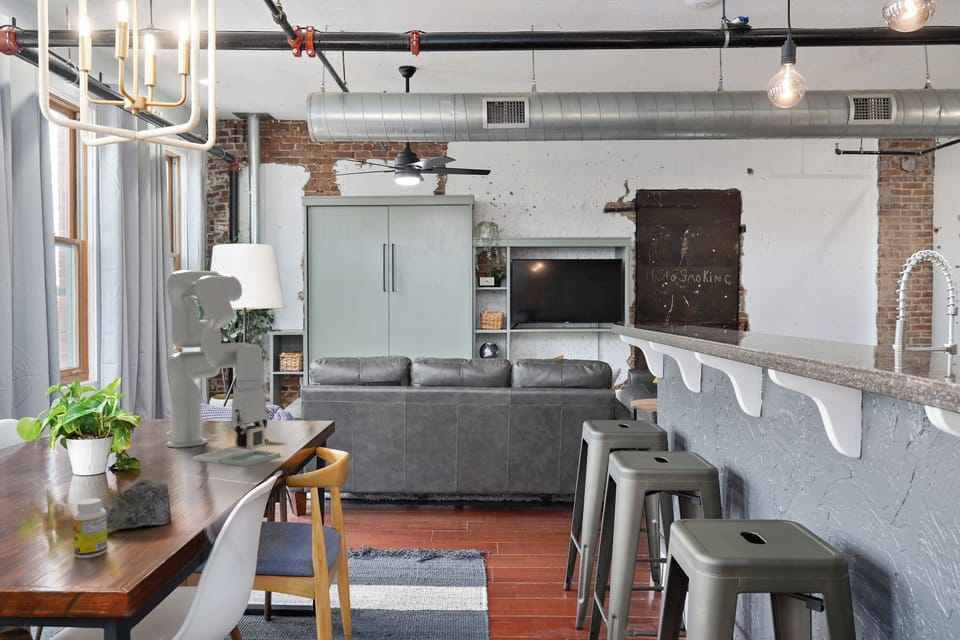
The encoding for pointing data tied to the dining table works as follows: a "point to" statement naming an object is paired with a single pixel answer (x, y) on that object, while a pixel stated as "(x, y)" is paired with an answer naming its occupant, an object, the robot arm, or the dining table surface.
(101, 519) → the supplement bottle
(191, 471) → the dining table surface
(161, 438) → the dining table surface
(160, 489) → the mineral rock
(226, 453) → the tray white
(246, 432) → the light wooden cube
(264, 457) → the tray sage
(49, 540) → the dining table surface
